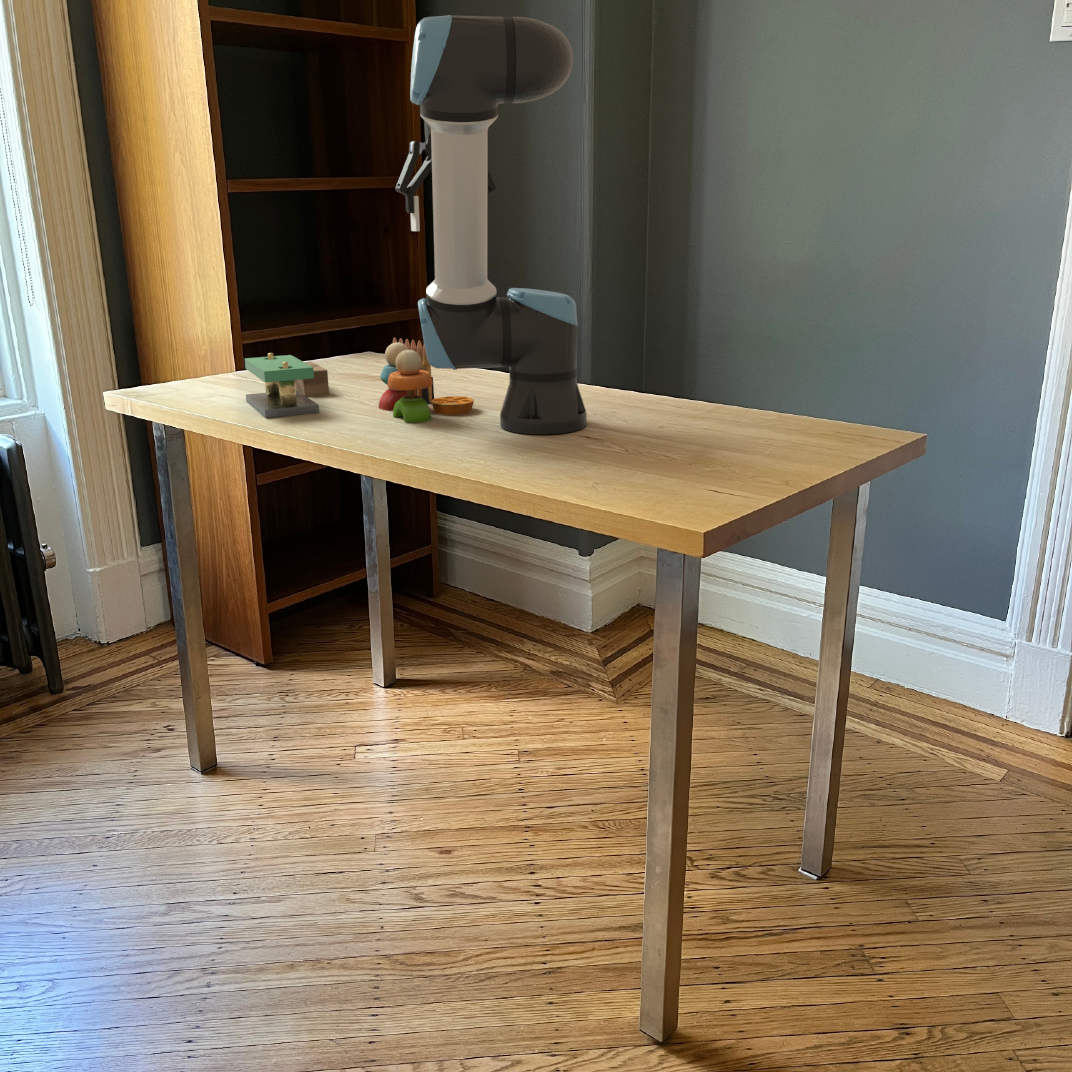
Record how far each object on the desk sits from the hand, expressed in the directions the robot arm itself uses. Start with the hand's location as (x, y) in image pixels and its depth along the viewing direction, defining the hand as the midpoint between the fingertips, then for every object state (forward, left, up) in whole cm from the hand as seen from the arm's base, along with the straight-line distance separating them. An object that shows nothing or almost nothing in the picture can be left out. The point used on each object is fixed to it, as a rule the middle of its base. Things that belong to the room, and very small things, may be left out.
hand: (447, 230), depth 207 cm
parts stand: (+12, +27, -32) cm, 43 cm away
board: (-2, +36, -25) cm, 44 cm away
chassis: (-2, +36, -32) cm, 48 cm away
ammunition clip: (-8, +12, -32) cm, 35 cm away
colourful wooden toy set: (-18, +14, -32) cm, 39 cm away
